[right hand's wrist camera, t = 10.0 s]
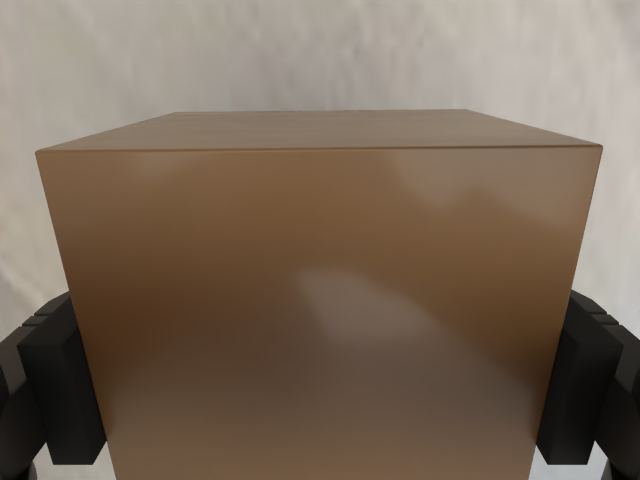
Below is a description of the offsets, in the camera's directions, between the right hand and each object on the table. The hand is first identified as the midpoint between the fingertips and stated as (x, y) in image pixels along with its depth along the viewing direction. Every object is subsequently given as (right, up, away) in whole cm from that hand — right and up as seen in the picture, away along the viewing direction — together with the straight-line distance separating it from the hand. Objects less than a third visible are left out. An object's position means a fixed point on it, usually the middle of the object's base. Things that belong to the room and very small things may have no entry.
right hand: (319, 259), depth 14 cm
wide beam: (0, -29, +12) cm, 31 cm away
